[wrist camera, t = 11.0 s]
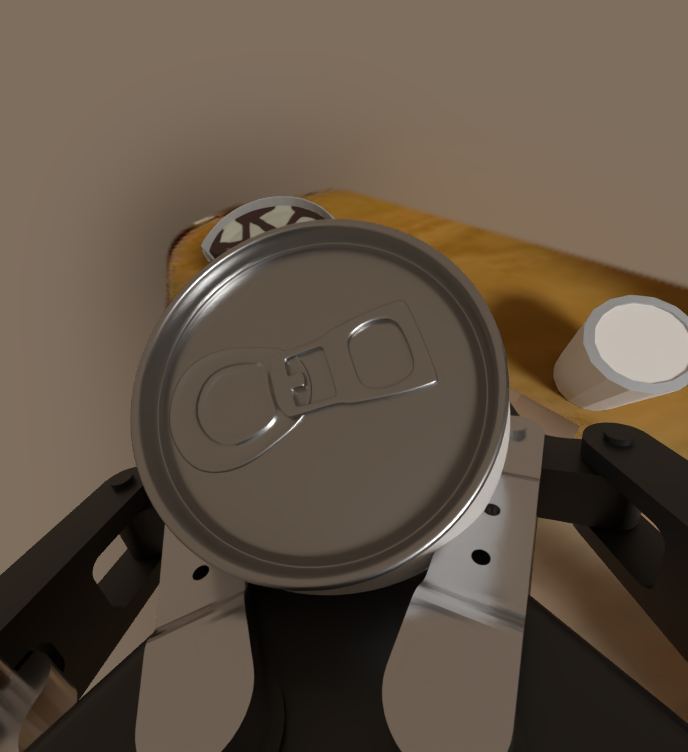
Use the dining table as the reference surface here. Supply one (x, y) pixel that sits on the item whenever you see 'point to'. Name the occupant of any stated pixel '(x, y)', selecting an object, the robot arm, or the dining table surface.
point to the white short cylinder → (625, 354)
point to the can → (322, 408)
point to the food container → (259, 221)
